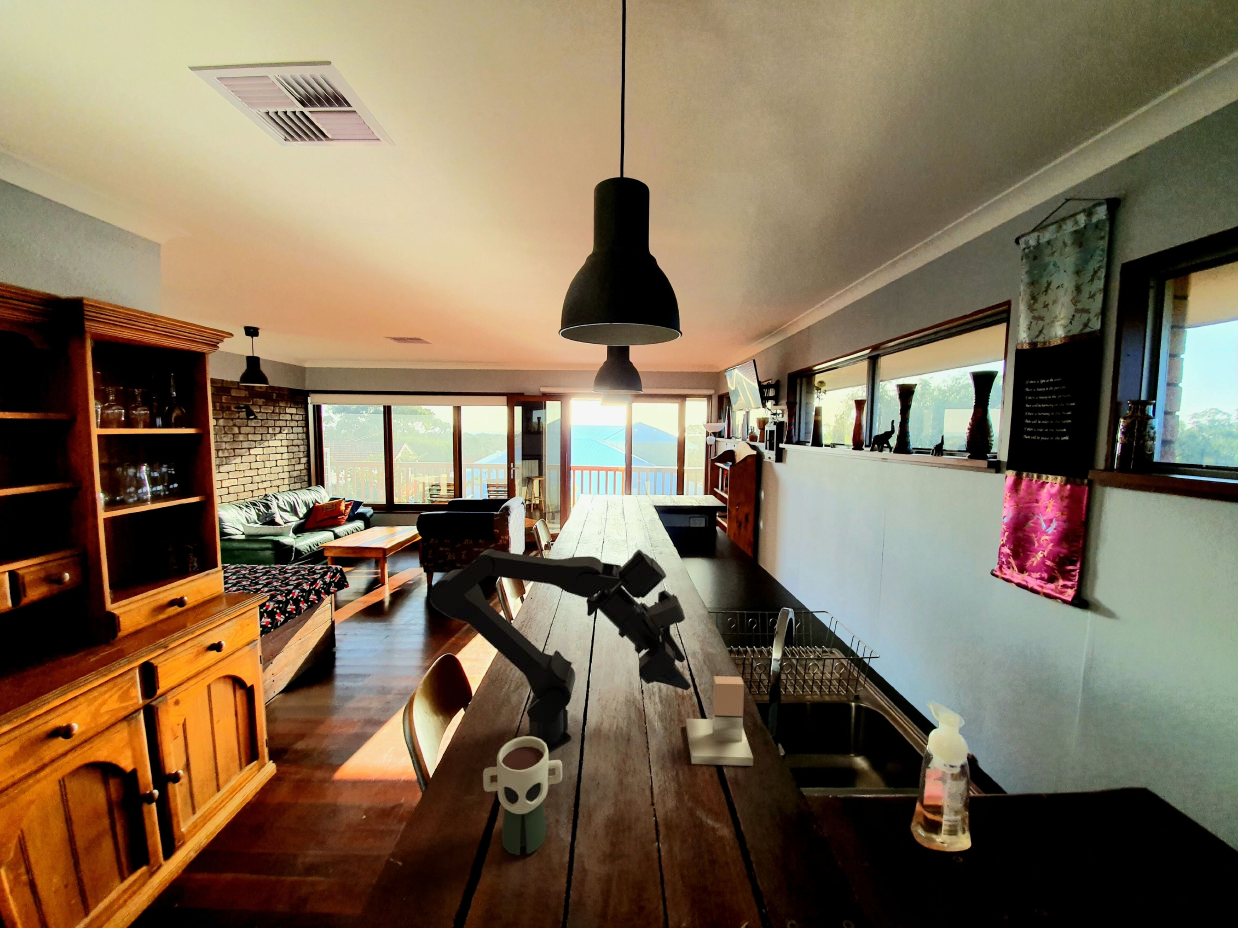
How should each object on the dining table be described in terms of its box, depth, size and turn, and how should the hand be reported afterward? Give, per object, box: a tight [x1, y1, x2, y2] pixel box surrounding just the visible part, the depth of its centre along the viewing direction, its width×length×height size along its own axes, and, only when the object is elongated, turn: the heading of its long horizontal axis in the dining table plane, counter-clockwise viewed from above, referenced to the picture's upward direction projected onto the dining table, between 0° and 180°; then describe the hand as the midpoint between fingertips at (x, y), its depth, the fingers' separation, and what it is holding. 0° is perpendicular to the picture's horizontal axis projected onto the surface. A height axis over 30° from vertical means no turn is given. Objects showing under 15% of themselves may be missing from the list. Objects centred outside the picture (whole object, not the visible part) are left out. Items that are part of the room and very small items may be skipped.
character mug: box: [482, 735, 563, 856], centre depth 65 cm, size 11×7×13 cm, turn 99°
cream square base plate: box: [685, 708, 754, 767], centre depth 84 cm, size 10×10×6 cm
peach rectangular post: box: [712, 675, 745, 717], centre depth 83 cm, size 5×2×6 cm, turn 87°
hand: (686, 673), depth 84 cm, fingers open, 9 cm apart
